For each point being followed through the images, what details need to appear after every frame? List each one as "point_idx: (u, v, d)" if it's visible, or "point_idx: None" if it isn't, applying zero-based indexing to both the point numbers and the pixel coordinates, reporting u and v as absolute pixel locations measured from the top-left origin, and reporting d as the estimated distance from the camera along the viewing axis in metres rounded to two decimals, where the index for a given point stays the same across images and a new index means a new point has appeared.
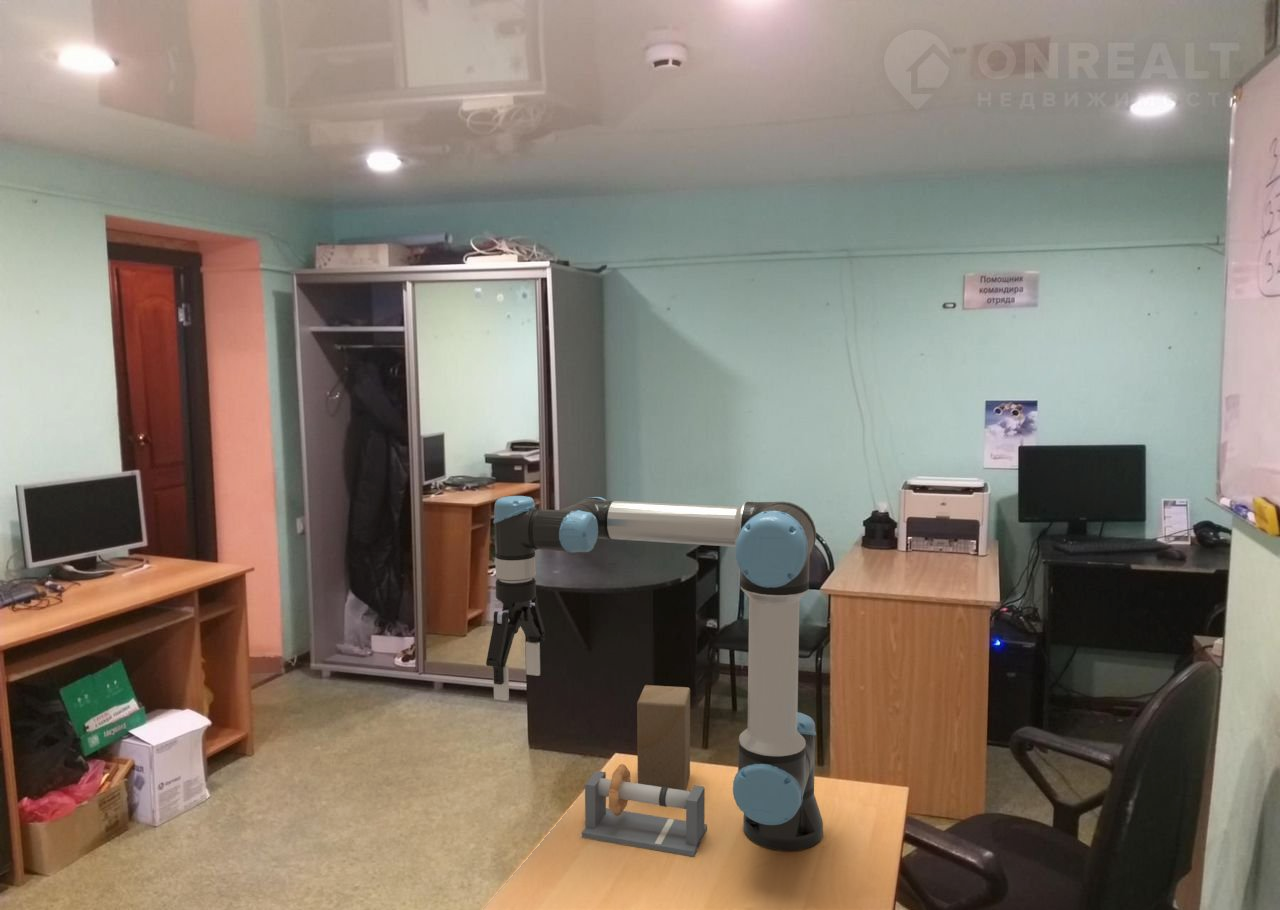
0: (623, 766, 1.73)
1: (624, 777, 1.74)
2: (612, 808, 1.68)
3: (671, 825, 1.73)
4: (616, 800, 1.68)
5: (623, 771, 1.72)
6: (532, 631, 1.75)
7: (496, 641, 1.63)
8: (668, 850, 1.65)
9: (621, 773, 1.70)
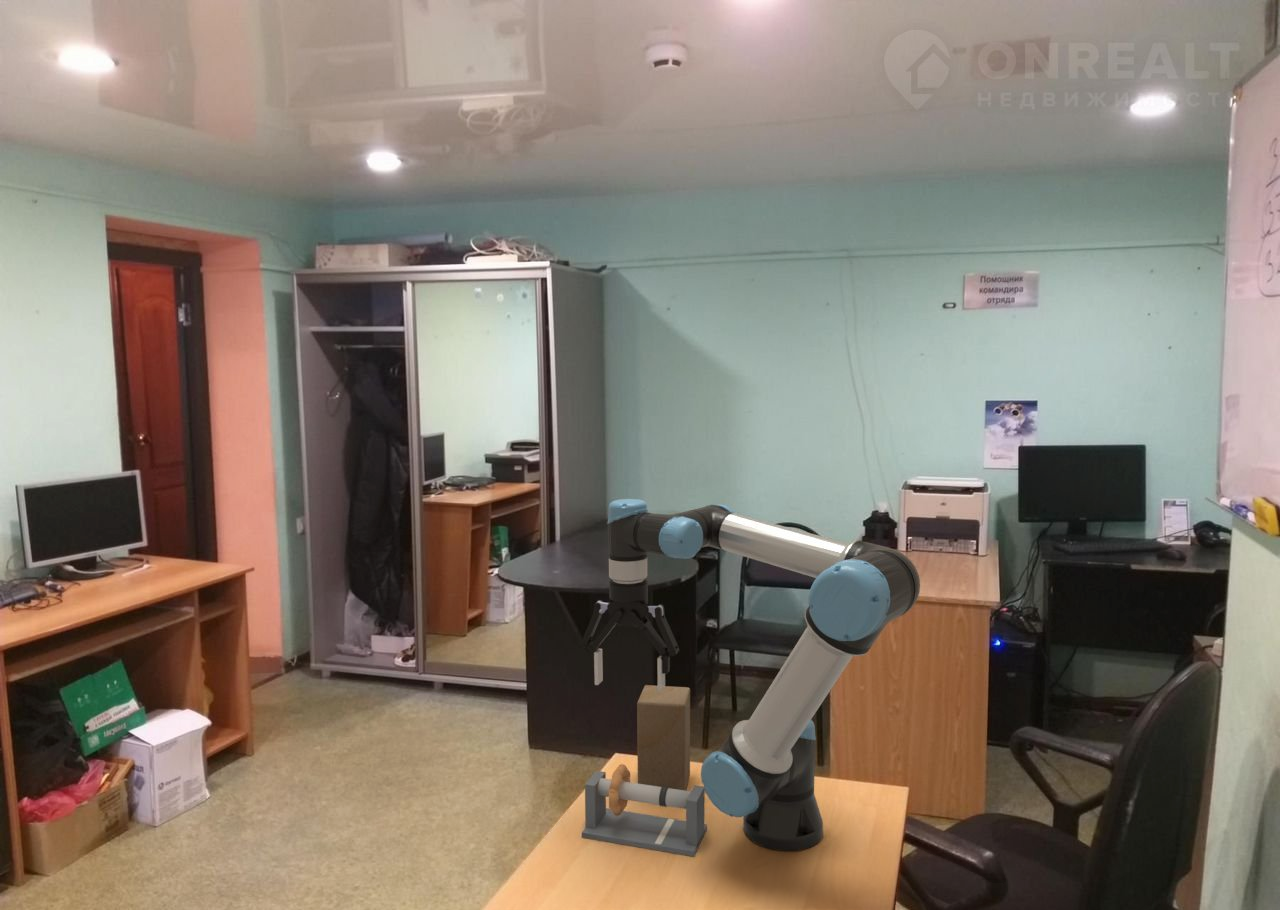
0: (623, 766, 1.73)
1: (624, 777, 1.74)
2: (612, 808, 1.68)
3: (671, 825, 1.73)
4: (616, 800, 1.68)
5: (623, 771, 1.72)
6: None
7: None
8: (668, 850, 1.65)
9: (621, 773, 1.70)
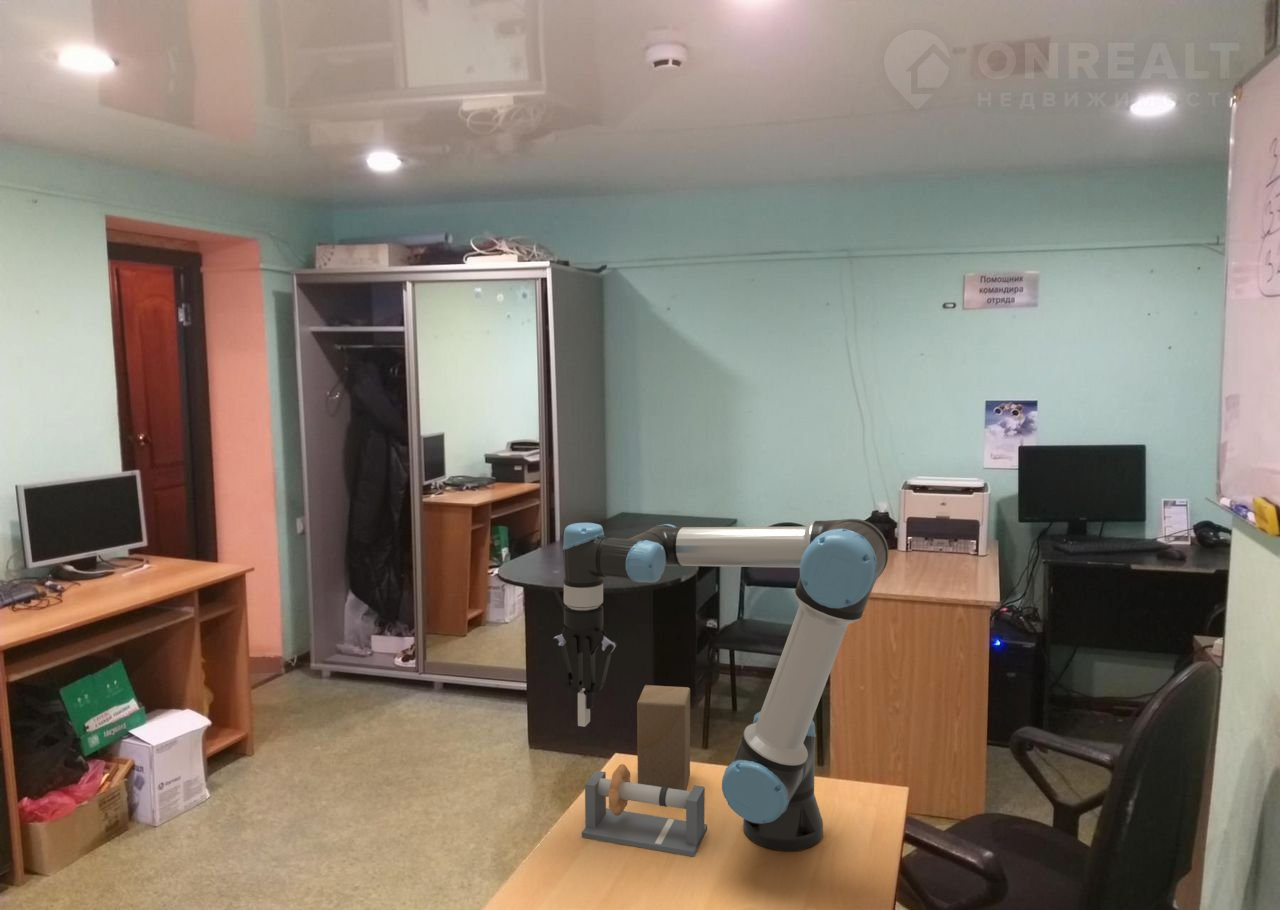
0: (623, 766, 1.73)
1: (624, 777, 1.74)
2: (612, 808, 1.68)
3: (671, 825, 1.73)
4: (616, 800, 1.68)
5: (623, 771, 1.72)
6: None
7: None
8: (668, 850, 1.65)
9: (621, 773, 1.70)
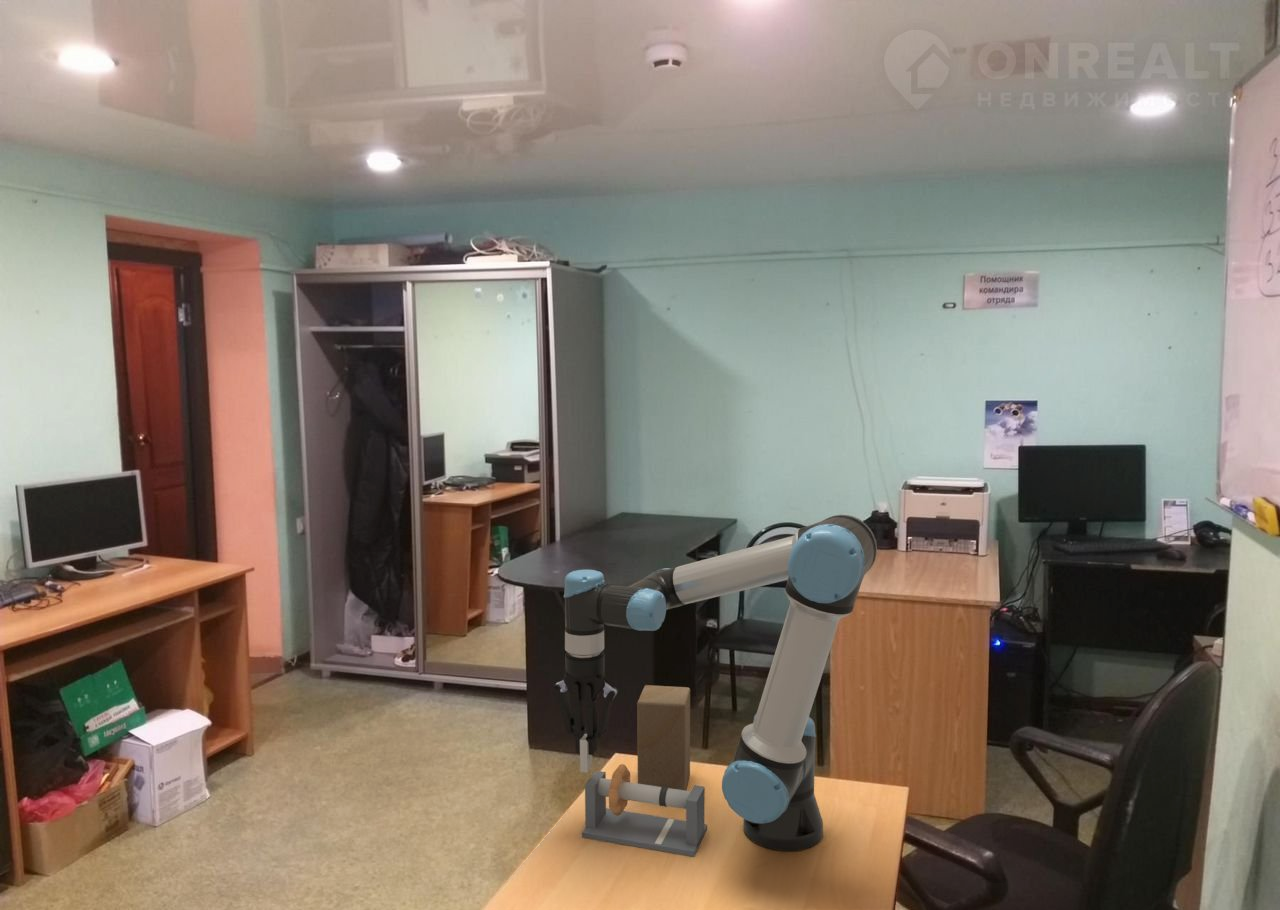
0: (623, 766, 1.73)
1: (624, 777, 1.74)
2: (612, 808, 1.68)
3: (671, 825, 1.73)
4: (616, 800, 1.68)
5: (623, 771, 1.72)
6: None
7: None
8: (668, 850, 1.65)
9: (621, 773, 1.70)
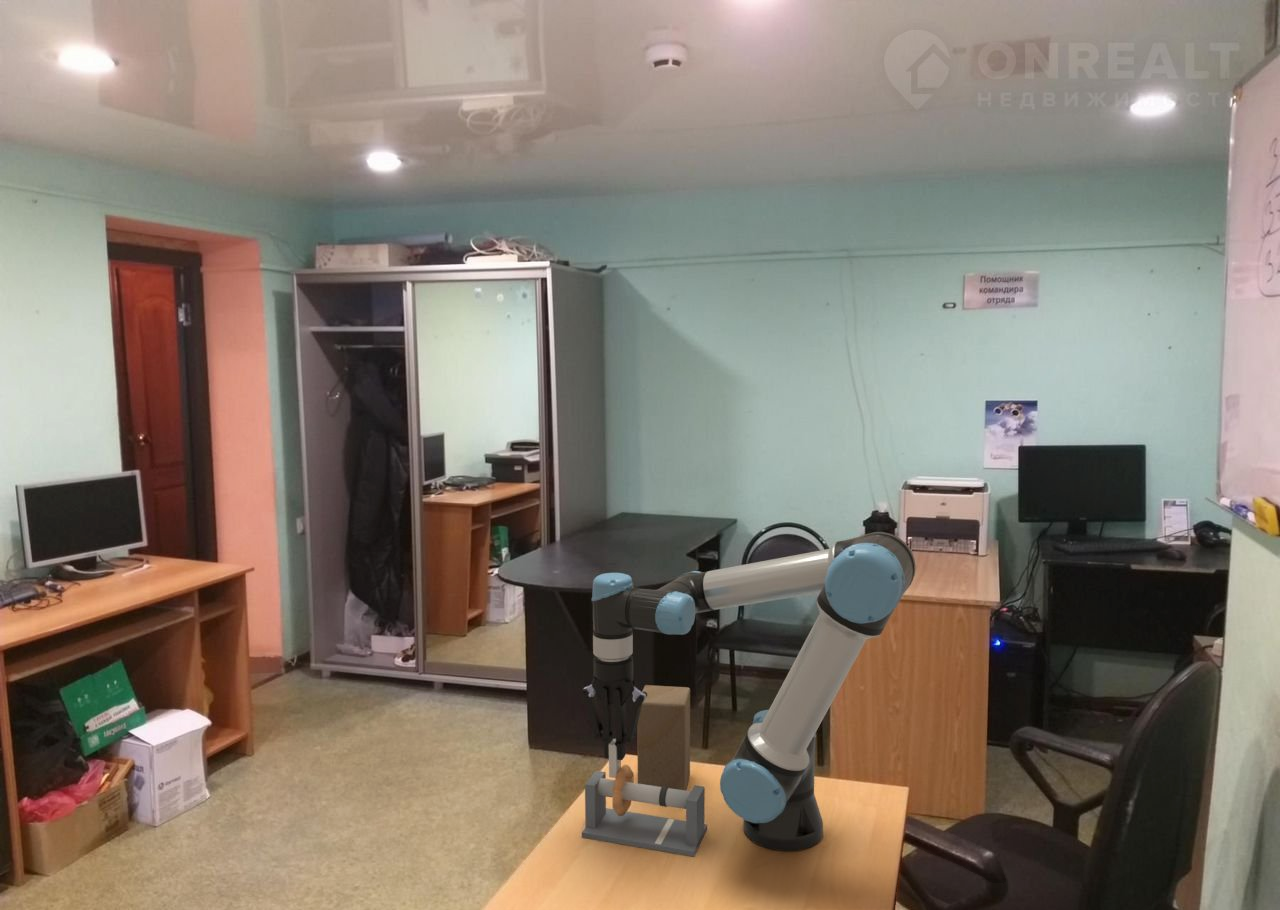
0: (626, 767, 1.72)
1: (627, 777, 1.74)
2: (616, 809, 1.68)
3: (671, 825, 1.73)
4: (620, 801, 1.68)
5: (627, 772, 1.71)
6: None
7: None
8: (668, 850, 1.65)
9: (624, 774, 1.70)
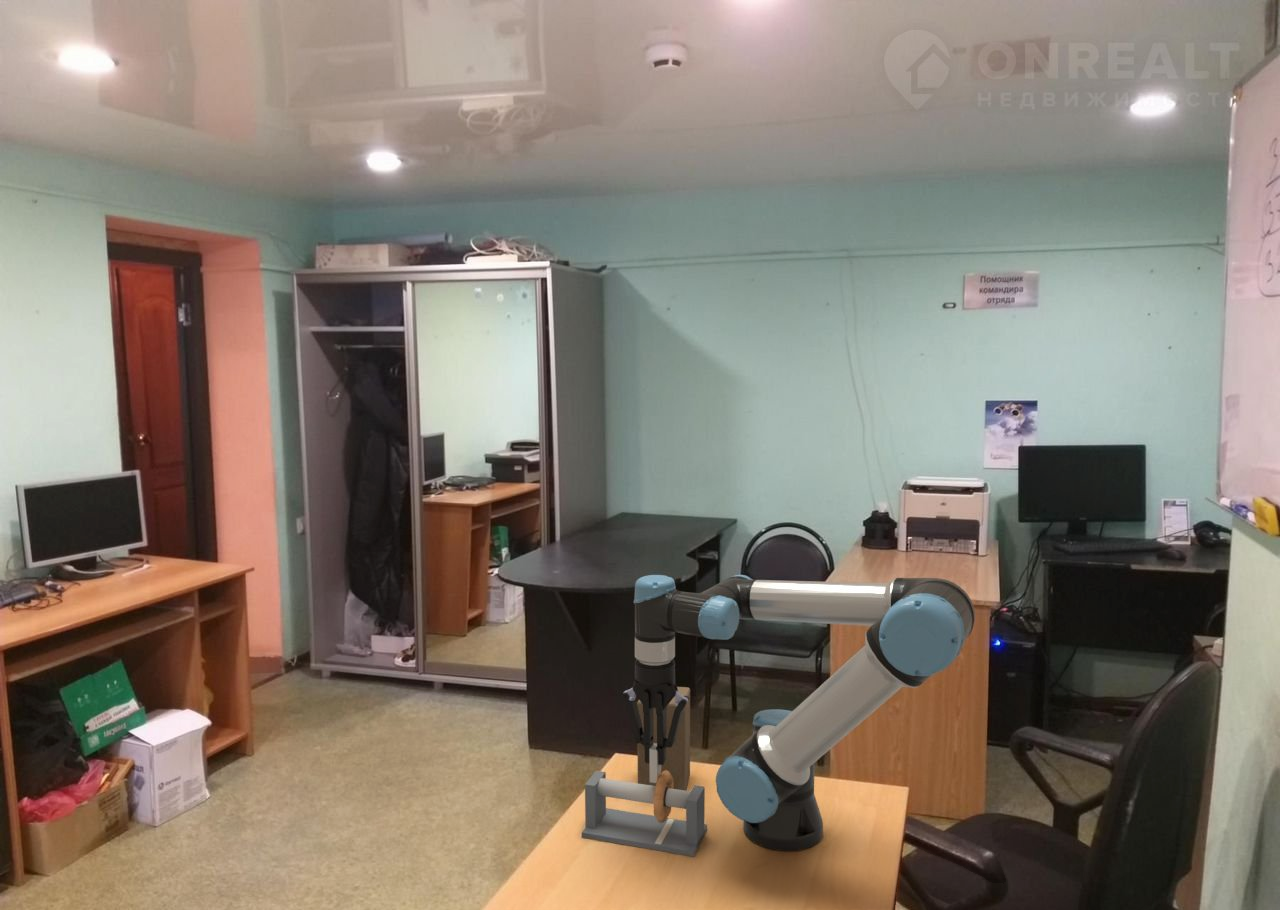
0: (667, 772, 1.70)
1: (667, 783, 1.72)
2: (657, 815, 1.66)
3: (671, 825, 1.73)
4: (661, 807, 1.66)
5: (667, 777, 1.69)
6: None
7: None
8: (668, 850, 1.65)
9: (665, 780, 1.68)
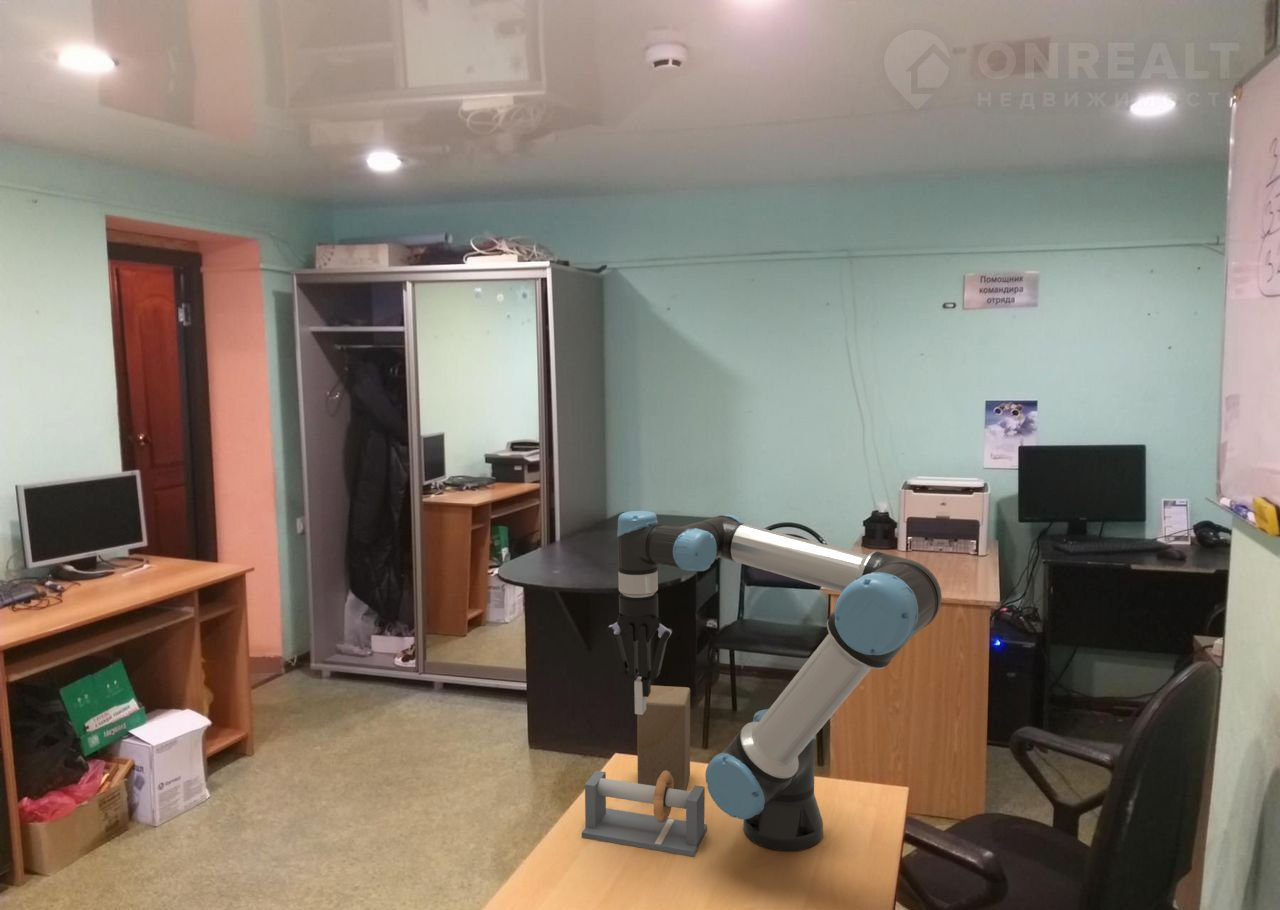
0: (667, 772, 1.70)
1: (667, 783, 1.72)
2: (657, 815, 1.66)
3: (671, 825, 1.73)
4: (661, 807, 1.66)
5: (667, 777, 1.69)
6: None
7: None
8: (668, 850, 1.65)
9: (665, 780, 1.68)
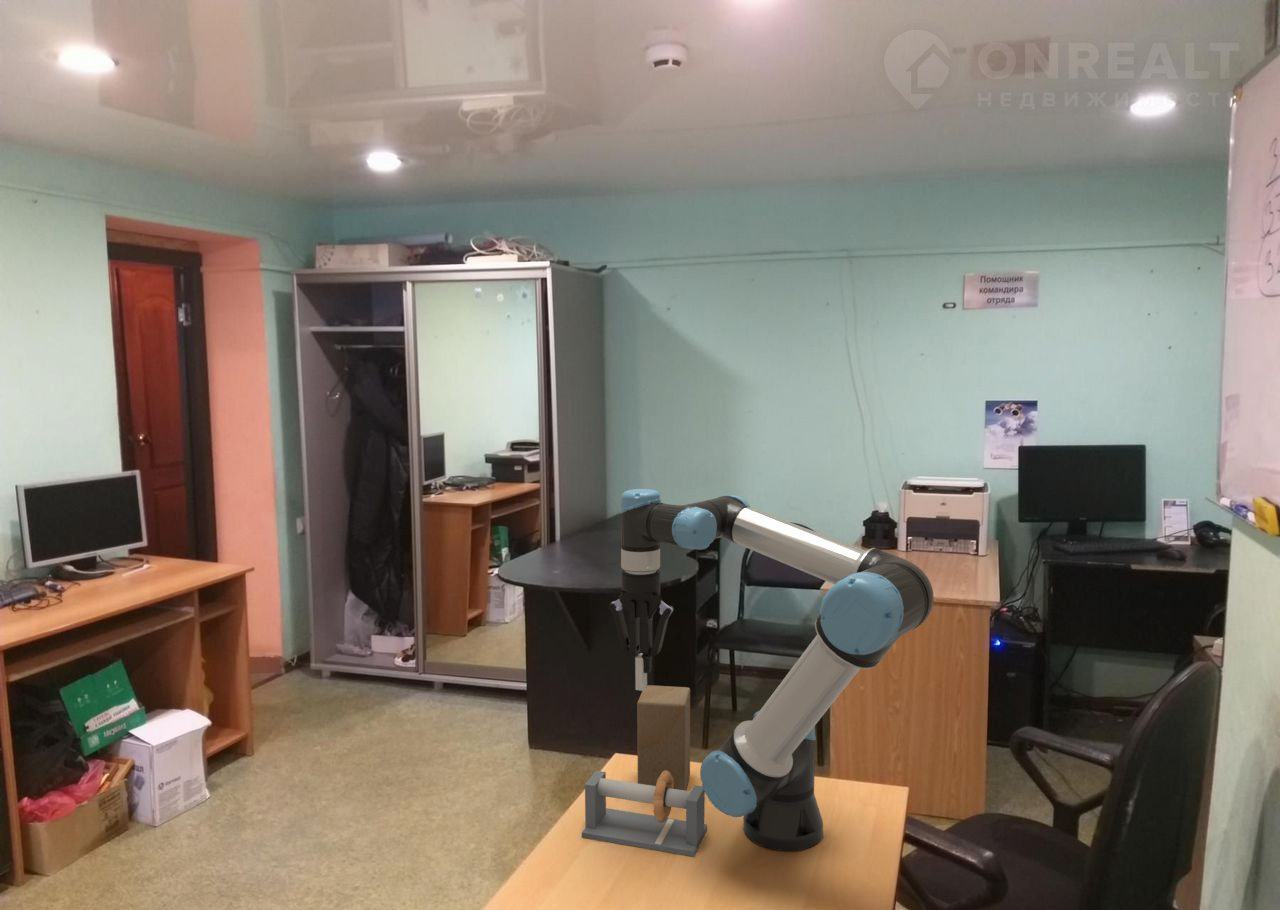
0: (667, 772, 1.70)
1: (667, 783, 1.72)
2: (657, 815, 1.66)
3: (671, 825, 1.73)
4: (661, 807, 1.66)
5: (667, 777, 1.69)
6: None
7: None
8: (668, 850, 1.65)
9: (665, 780, 1.68)
